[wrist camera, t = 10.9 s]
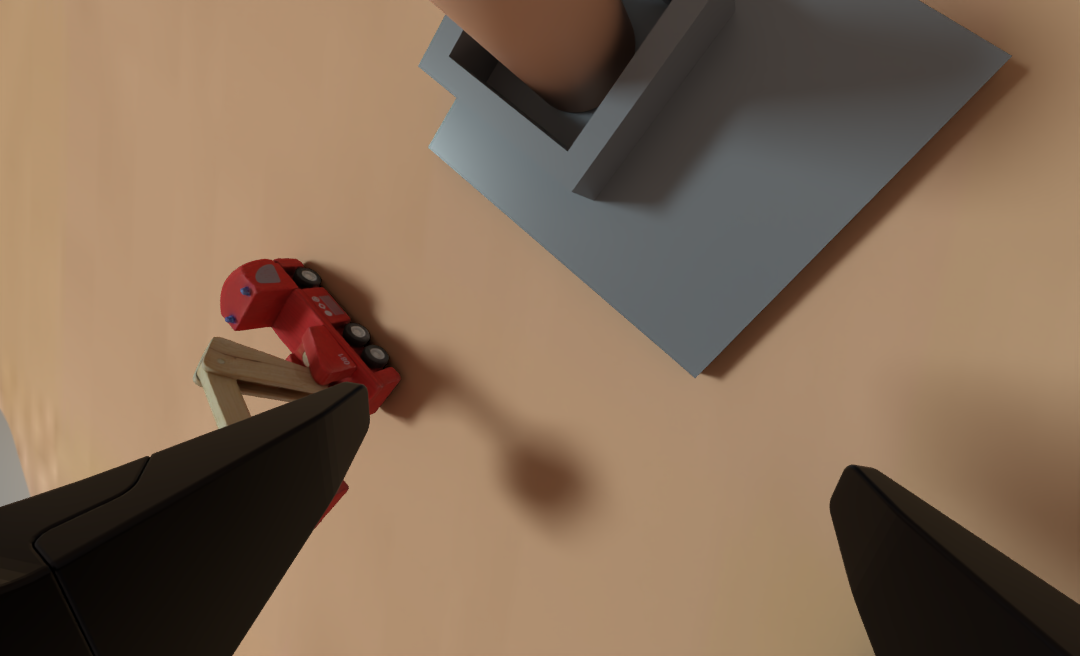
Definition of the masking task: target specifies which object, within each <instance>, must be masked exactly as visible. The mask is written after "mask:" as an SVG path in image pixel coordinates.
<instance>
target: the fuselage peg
mask: <svg viewBox="0 0 1080 656" xmlns="http://www.w3.org/2000/svg"><path fill="white" fill-rule="evenodd" d="M430 1H431V2H432V3H433V4H434V5H435V6H436V7H438V8H439V9H440V10H441V11H442V12H443V13H445V14H446V15H447V16H448V17H449V18H450V19H451V20H453V21H454V22H455V23H456V24H457V25H458V26H459V27H461V28H462V29H463V30H464V31H465V32H466V33H468V34H469V35H470V36H471V37H472V38H473V39H474V40H476V41H477V42H478V43H479V44H480V45H481V46H482V47H484V48H485V49H486V50H487V51H488V52H489V53H491V54H492V55H493V56H494V57H495V58H496V59H497V60H499V61H500V62H501V63H502V64H503V65H504V66H506V67H507V68H508V69H509V70H510V71H511V72H512V73H514V74H515V75H516V76H517V77H518V78H519V79H520V80H522V81H523V82H524V83H525V84H526V85H527V86H529V87H530V88H531V89H532V90H533V91H534V92H535V93H537V94H538V95H539V96H540V97H541V98H542V99H543V100H545V101H546V102H547V103H548V104H550V105H551V106H552V107H554V108H556V109H558V110H561V111H565V112H571V113H578V112H585V111H589V110H592V109H594V108H597V107H598V106H599V105H600V104H601V103H602V101H603V100H604V98H605V97H606V95H607V94H608V92H609V91H610V90H611V88H612V87H613V85H614V84H615V82H616V81H617V79H618V78H619V77H620V75H621V74H622V72H623V71H624V69H625V68H626V66H627V65H628V64H629V62H630V61H631V59H632V58H633V56H634V54H635V35H634V30H633V27H632V24H631V21H630V19H629V17H628V14H627V12H626V9H625V7H624V5H623V2H622V0H430Z"/></svg>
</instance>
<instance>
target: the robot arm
mask: <svg viewBox="0 0 1080 656" xmlns="http://www.w3.org/2000/svg"><path fill="white" fill-rule="evenodd" d="M369 424H370V413H369V399H368V390H367V387H366V386H365V385H363V384H358V383H352V382H342V383H340V384H337V385H334V386H332V387H329V388H326V389H324V390H321V391H318V392H316V393H313V394H310V395H308V396H305V397H302V398H300V399H297V400H294V401H292V402H289V403H286V404H284V405H281V406H279V407H276V408H273V409H271V410H268V411H265V412H263V413H260V414H257V415H255V416H252V417H249V418H247V419H244V420H241V421H239V422H236V423H233V424H231V425H228V426H225V427H223V428H220V429H217V430H215V431H212V432H209V433H207V434H204V435H202V436H199V437H196V438H194V439H191V440H188V441H186V442H183V443H180V444H178V445H175V446H172V447H170V448H167V449H164V450H162V451H159V452H156V453H154V454H152V455H151V457H149V456H145V457H143V458H140V459H137V460H135V461H132V462H130V463H127V464H124V465H122V466H119V467H116V468H113V469H111V470H108V471H105V472H102V473H100V474H97V475H94V476H91V477H89V478H86V479H83V480H80V481H77V482H74V483H71V484H68V485H65V486H62V487H59V488H56V489H53V490H50V491H47V492H44V493H41V494H38V495H35V496H33V497H29V498H26V499H23V500H20V501H17V502H14V503H11V504H8V505H5V506H2V507H0V656H232V655H233V654H234V652H235V651H236V649H237V648H238V646H239V645H240V643H241V641H242V640H243V638H244V637H245V635H246V634H247V632H248V631H249V629H250V628H251V626H252V624H253V623H254V621H255V620H256V618H257V617H258V615H259V614H260V612H261V610H262V609H263V607H264V606H265V604H266V603H267V601H268V600H269V598H270V597H271V595H272V593H273V592H274V590H275V589H276V587H277V586H278V584H279V583H280V581H281V579H282V578H283V576H284V575H285V573H286V572H287V570H288V569H289V567H290V565H291V564H292V562H293V561H294V559H295V558H296V556H297V555H298V553H299V552H300V550H301V548H302V547H303V545H304V544H305V542H306V541H307V539H308V538H309V536H310V534H311V533H312V531H313V530H314V528H315V527H316V525H317V524H318V522H319V521H320V519H321V517H322V516H323V514H324V513H325V511H326V510H327V508H328V506H329V505H330V503H331V502H332V500H333V498H334V497H335V495H336V493H337V491H338V489H339V487H340V485H341V483H342V481H343V479H344V477H345V475H346V473H347V471H348V469H349V467H350V465H351V463H352V461H353V459H354V457H355V455H356V453H357V451H358V449H359V447H360V445H361V443H362V441H363V439H364V437H365V435H366V433H367V431H368V428H369ZM830 514H831V517H832V521H833V525H834V529H835V532H836V536H837V540H838V544H839V547H840V551H841V555H842V559H843V562H844V566H845V570H846V574H847V577H848V581H849V584H850V588H851V591H852V594H853V597H854V600H855V603H856V605H857V608H858V611H859V614H860V616H861V619H862V621H863V624H864V627H865V629H866V632H867V635H868V637H869V640H870V642H871V645H872V648H873V650H874V653H875V655H876V656H1080V605H1079V604H1078V603H1076V602H1075V601H1073V600H1072V599H1070V598H1069V597H1067V596H1066V595H1064V594H1063V593H1061V592H1060V591H1058V590H1057V589H1055V588H1054V587H1052V586H1051V585H1049V584H1048V583H1046V582H1045V581H1043V580H1042V579H1040V578H1039V577H1037V576H1036V575H1034V574H1033V573H1031V572H1030V571H1028V570H1027V569H1025V568H1024V567H1022V566H1021V565H1019V564H1018V563H1016V562H1015V561H1013V560H1012V559H1010V558H1009V557H1007V556H1006V555H1004V554H1003V553H1001V552H1000V551H998V550H997V549H995V548H994V547H992V546H991V545H989V544H988V543H986V542H985V541H983V540H982V539H980V538H979V537H977V536H976V535H974V534H973V533H971V532H970V531H968V530H967V529H965V528H964V527H962V526H961V525H959V524H958V523H956V522H955V521H953V520H952V519H950V518H949V517H947V516H946V515H944V514H943V513H941V512H940V511H938V510H937V509H935V508H934V507H932V506H931V505H929V504H928V503H926V502H925V501H923V500H922V499H920V498H919V497H917V496H916V495H914V494H913V493H911V492H910V491H908V490H907V489H905V488H904V487H902V486H901V485H899V484H898V483H896V482H895V481H893V480H892V479H890V478H889V477H887V476H886V475H884V474H883V473H881V472H880V471H878V470H877V469H874V468H871V467H865V466H859V465H849V466H847V467H846V468H845V469H844V471H843V473H842V475H841V477H840V479H839V482H838V484H837V486H836V488H835V490H834V492H833V494H832V497H831V500H830Z"/></svg>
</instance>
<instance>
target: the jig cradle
mask: <svg viewBox="0 0 1080 656" xmlns="http://www.w3.org/2000/svg"><path fill="white" fill-rule="evenodd" d="M622 2H623V5H624V7H625V9H626V12H627V14H628V17H629V19H630V21H631V24H632V27H633V30H634V35H635V54H634V56H633V58H632V59H631V61H630V62H629V64H628V65H627V66H626V68H625V69H624V71H623V72H622V74H621V75H620V77H619V78H618V79H617V81H616V82H615V84H614V85H613V87H612V88H611V90H610V91H609V92H608V94H607V95H606V97H605V98H604V100H603V101H602V103H601V104H600V105H599V106H598V107H597V108H594V109H592V110H589V111H585V112H578V113H571V112H565V111H561V110H558V109H556V108H554V107H552V106H551V105H550V104H548V103H547V102H546V101H545V100H543V99H542V98H541V97H540V96H539V95H538V94H537V93H535V92H534V91H533V90H532V89H531V88H530V87H529V86H527V85H526V84H525V83H524V82H523V81H522V80H520V79H519V78H518V77H517V76H516V75H515V74H514V73H512V72H511V71H510V70H509V69H508V68H507V67H506V66H504V65H503V64H502V63H501V62H500V61H499V60H497V59H496V58H495V57H494V56H493V55H492V54H491V53H489V52H488V51H487V50H486V49H485V48H484V47H482V46H481V45H480V44H479V43H478V42H477V41H476V40H474V39H473V38H472V37H471V36H470V35H469V34H468V33H466V32H465V31H464V30H463V29H462V28H461V27H459V26H458V25H457V24H456V23H455V22H454V21H453V20H451V19H450V18H449V17H448V16H447V15H445V16H444V18H443V20H442V22H441V24H440V26H439V28H438V30H437V32H436V34H435V35H434V37H433V39H432V41H431V43H430V45H429V47H428V49H427V51H426V52H425V54H424V56H423V58H422V60H421V62H420V64H419V66H418V67H420V68H421V69H422V70H423V71H424V72H426V73H427V74H428V75H429V76H431V77H432V78H433V79H434V80H435V81H437V82H438V83H439V84H440V85H442V86H443V87H444V88H445V89H446V90H448V91H449V92H450V93H451V94H453V95H454V96H455V97H456V100H455V101H454V103H453V105H452V107H451V108H450V110H449V112H448V114H447V115H446V117H445V119H444V121H443V122H442V124H441V126H440V128H439V129H438V131H437V133H436V135H435V136H434V138H433V140H432V142H431V143H430V145H429V147H428V148H429V149H431V150H432V151H433V152H434V153H435V154H436V155H437V156H439V157H440V158H441V159H442V160H443V161H444V162H446V163H447V164H448V165H449V166H450V167H451V168H453V169H454V170H455V171H456V172H457V173H458V174H459V175H461V176H462V177H463V178H464V179H465V180H466V181H468V182H469V183H470V184H471V185H472V186H473V187H474V188H476V189H477V190H478V191H479V192H480V193H481V194H483V195H484V196H485V197H486V198H487V199H488V200H490V201H491V202H492V203H493V204H494V205H495V206H496V207H498V208H499V209H500V210H501V211H502V212H503V213H505V214H506V215H507V216H508V217H509V218H510V219H512V220H513V221H514V222H515V223H516V224H517V225H518V226H520V227H521V228H522V229H523V230H524V231H525V232H527V233H528V234H529V235H530V236H531V237H532V238H534V239H535V240H536V241H537V242H538V243H539V244H540V245H542V246H543V247H544V248H545V249H546V250H547V251H549V252H550V253H551V254H552V255H553V256H554V257H556V258H557V259H558V260H559V261H560V262H561V263H562V264H564V265H565V266H566V267H567V268H568V269H569V270H571V271H572V272H573V273H574V274H575V275H576V276H578V277H579V278H580V279H581V280H582V281H583V282H584V283H586V284H587V285H588V286H589V287H590V288H591V289H593V290H594V291H595V292H596V293H597V294H598V295H599V296H601V297H602V298H603V299H604V300H605V301H606V302H608V303H609V304H610V305H611V306H612V307H613V308H615V309H616V310H617V311H618V312H619V313H620V314H621V315H623V316H624V317H625V318H626V319H627V320H628V321H630V322H631V323H632V324H633V325H634V326H635V327H637V328H638V329H639V330H640V331H641V332H642V333H643V334H645V335H646V336H647V337H648V338H649V339H650V340H652V341H653V342H654V343H655V344H656V345H657V346H659V347H660V348H661V349H662V350H663V351H664V352H665V353H667V354H668V355H669V356H670V357H671V358H672V359H674V360H675V361H676V362H677V363H678V364H679V365H681V366H682V367H683V368H684V369H685V370H686V371H687V372H689V373H690V374H691V375H692V376H693V377H694V378H696V377H697V376H698V375H699V374H700V373H701V372H702V371H703V370H704V369H705V368H706V367H707V366H708V365H709V364H710V363H711V362H712V361H713V360H714V359H715V358H716V357H717V356H718V355H719V353H720V352H721V351H722V350H723V349H724V348H725V347H726V346H727V345H728V344H729V343H730V342H731V341H732V340H733V339H734V338H735V337H736V336H737V335H738V334H739V333H740V332H741V331H742V330H743V329H744V328H745V327H746V326H747V325H748V324H749V323H750V322H751V321H752V320H753V319H754V318H755V317H756V316H757V315H758V314H759V313H760V312H761V311H762V310H763V309H764V308H765V307H766V306H767V305H768V304H769V303H770V302H771V301H772V300H773V299H774V298H775V297H776V296H777V295H778V294H779V292H780V291H781V290H782V289H783V288H784V287H785V286H786V285H787V284H788V283H789V282H790V281H791V280H792V279H793V278H794V277H795V276H796V275H797V274H798V273H799V272H800V271H801V270H802V269H803V268H804V267H805V266H806V265H807V264H808V263H809V262H810V261H811V260H812V259H813V258H814V257H815V256H816V255H817V254H818V253H819V252H820V251H821V250H822V249H823V248H824V247H825V246H826V245H827V244H828V243H829V242H830V241H831V240H832V239H833V238H834V237H835V236H836V235H837V234H838V233H839V231H840V230H841V229H842V228H843V227H844V226H845V225H846V224H847V223H848V222H849V221H850V220H851V219H852V218H853V217H854V216H855V215H856V214H857V213H858V212H859V211H860V210H861V209H862V208H863V207H864V206H865V205H866V204H867V203H868V202H869V201H870V200H871V199H872V198H873V197H874V196H875V195H876V194H877V193H878V192H879V191H880V190H881V189H882V188H883V187H884V186H885V185H886V184H887V183H888V182H889V181H890V180H891V179H892V178H893V177H894V176H895V175H896V174H897V173H898V172H899V170H900V169H901V168H902V167H903V166H904V165H905V164H906V163H907V162H908V161H909V160H910V159H911V158H912V157H913V156H914V155H915V154H916V153H917V152H918V151H919V150H920V149H921V148H922V147H923V146H924V145H925V144H926V143H927V142H928V141H929V140H930V139H931V138H932V137H933V136H934V135H935V134H936V133H937V132H938V131H939V130H940V129H941V128H942V127H943V126H944V125H945V124H946V123H947V122H948V121H949V120H950V119H951V118H952V117H953V116H954V115H955V114H956V113H957V112H958V111H959V109H960V108H961V107H962V106H963V105H964V104H965V103H966V102H967V101H968V100H969V99H970V98H971V97H972V96H973V95H974V94H975V93H976V92H977V91H978V90H979V89H980V88H981V87H982V86H983V85H984V84H985V83H986V82H987V81H988V80H989V79H990V78H991V77H992V76H993V75H994V74H995V73H996V72H997V71H998V70H999V69H1000V68H1001V67H1002V66H1003V65H1004V64H1005V63H1006V62H1007V61H1008V60H1009V59H1010V58H1011V57H1012V56H1011V55H1010V54H1008V53H1006V52H1005V51H1003V50H1001V49H999V48H998V47H996V46H994V45H993V44H991V43H989V42H988V41H986V40H984V39H983V38H981V37H979V36H978V35H976V34H974V33H973V32H971V31H969V30H968V29H966V28H964V27H963V26H961V25H959V24H958V23H956V22H954V21H953V20H951V19H949V18H948V17H946V16H944V15H942V14H941V13H939V12H937V11H936V10H934V9H932V8H931V7H929V6H927V5H926V4H924V3H922V2H921V1H919V0H622Z"/></svg>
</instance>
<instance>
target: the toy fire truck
mask: <svg viewBox="0 0 1080 656" xmlns="http://www.w3.org/2000/svg"><path fill="white" fill-rule="evenodd" d="M320 283H321V278H320V276H319V275H318V274H317V273H316V272H314V271H313V270H311V269H307V268H304V265H303V264H302V262H300V261H299V260H297V259H289V258H285V259H281V258H278V259H274V260H273V261H272V260H269V259H260V260H255V261H251V262H248V263H246V264H244V265H242V266H240V267H238V268H237V269H236V270H234V271H233V272H232V273H231V274H230V275H229V276H228V278H227V279H226V281H225V282H224V285H223V287H222V291H221V298H220V307H221V314H222V316H223V317H224V318H225V321H226V322H228V323H229V324H230V326H231V327H232V328H233V329H234V331H241V330H249V329H256V328H264V327H272V328H273V330H274V331H275V333H276V334H277V335H278V337H279V338H280V339H281V340H282V341H283V343H284V344H285V345H286V346H287V347H288V348H289V350H290V351H291V352H292V354H290V355H289V356H288V357H287V358H286V360H284V359H281V358H278V357H275V356H272V355H270V354H267V353H264V352H262V351H258V350H256V349H253V348H250V347H247V346H244V345H241V344H238V343H236V342H233V341H231V340H227V339H224V338H222V337H214V338H213V339H212V340H211V341H210V343H209V345H208V347H207V348H206V350H205V352H204V354H203V355H202V358H201V360H200V362H199V364H198V367H197V369H196V371H195V373H194V376H193V381H194V383H195V384H196V385H198V386H200V387H203V389H204V391H205V394H206V397H207V400H208V403H209V405H210V408H211V410H212V413H213V416H214V419H215V421H216V424H217V426H218V429H220V428H223V427H225V426H228V425H231V424H233V423H236V422H239V421H241V420H244V419H247V418H249V417H251V415H250V413H249V410H248V408H247V406H246V403H245V401H244V399H243V396H242V394H243V395H249V396H255V397H261V398H268V399H274V400H280V401H286V402H292V401H294V400H297V399H300V398H302V397H305V396H308V395H310V394H313V393H316V392H318V391H321V390H324V389H326V388H329V387H332V386H334V385H337V384H340V383H342V382H352V383H358V384H363V385H365V386H366V387H367V390H368V399H369V413H370V415H371V414H373V413H375V412H376V411H377V410H378V408H379V407H380V406H381V405H382V403H383V402H384V401H385V399H386V398H387V397H388V395H389V394H390V393H391V392H392V390H393V389H394V388H395V387H396V385H397V384H398V383H399V382H400V380H401V377H400V375H399V373H398V372H397V371H396V370H395V369H394V368H393V367H387V368H385V369H383V367H384V366H385V365H386V364H387V362H388V360H389V357H388V354H387V352H386V351H385V350H384V349H383V348H381V347H379V346H376V345H369V346H366V347H365V348H364V347H363V345H366V343H367V342H368V340H369V339H370V335H369V332H368V331H367V329H366V328H365V327H363V326H362V325H360V324H356V323H350V321H351V319H350V317H349V316H348V315H347V314H346V312H345V311H344V310H343V309H342V308H341V307H340V305H339V304H338V303H337V302H336V301H335V299H333V297H332V296H331V295H330V294H329V293H328V292H327V290H325V289H324V288H323V287H319V284H320ZM348 489H349V486H348V485H347V484H346V483H345V481H344V480H343V481H342V483H341V485H340V487H339V489H338V491H337V493H336V495H335V497H334V498H333V500H332V502H331V503H330V505H329V506H328V508H327V510H326V511H325V513H324V514H323V516H322V517H321V519H320V521H319V522H318V524H319V523H320V522H321V521H322V519H323V518H324V517H325V516H326V515H327V514H328V513H329V511H330V510H331V509H332V508H333V507H334V506H335V505H336V503H337V502H338V501H339V500H340V499H341V497H342V496H343V495H344V494H345V493H346V492H347V490H348ZM318 524H317V525H318ZM317 525H316V527H317ZM316 527H315V528H316ZM315 528H314V529H315Z"/></svg>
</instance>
